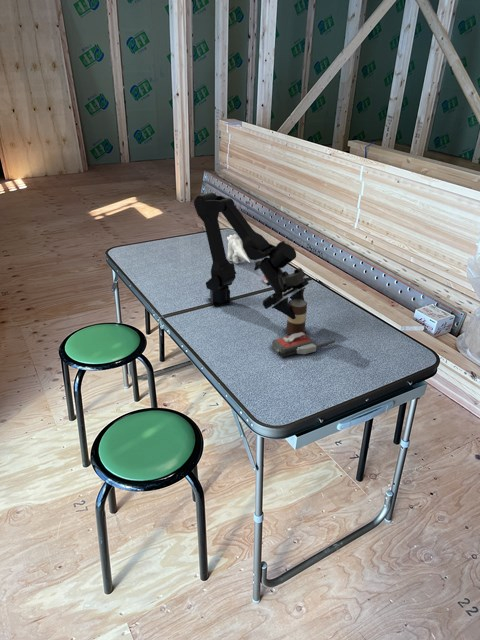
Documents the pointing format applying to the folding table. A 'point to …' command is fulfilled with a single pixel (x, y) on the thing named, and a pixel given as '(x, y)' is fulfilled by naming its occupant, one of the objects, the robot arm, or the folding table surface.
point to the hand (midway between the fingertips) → (300, 315)
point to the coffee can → (297, 316)
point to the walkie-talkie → (296, 344)
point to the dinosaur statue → (236, 249)
